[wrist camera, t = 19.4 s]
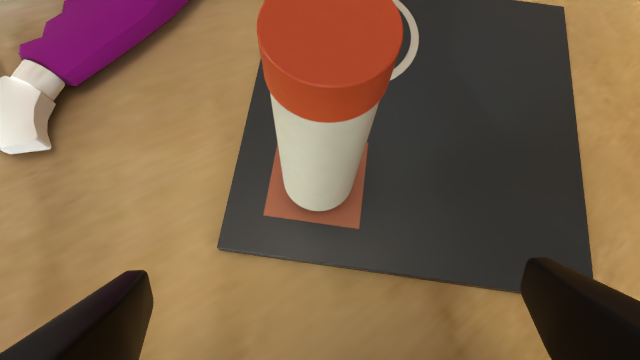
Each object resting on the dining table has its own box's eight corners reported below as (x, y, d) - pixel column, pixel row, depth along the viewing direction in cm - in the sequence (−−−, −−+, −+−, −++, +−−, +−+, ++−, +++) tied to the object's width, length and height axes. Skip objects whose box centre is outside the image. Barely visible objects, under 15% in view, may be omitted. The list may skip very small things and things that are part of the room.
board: (558, 13, 27) (564, 5, 26) (588, 303, 20) (597, 302, 19) (281, -24, 27) (281, -32, 27) (219, 250, 20) (216, 247, 20)
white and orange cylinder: (367, 190, 21) (434, 38, 10) (310, 232, 20) (316, 114, 9) (324, 138, 22) (342, -51, 11) (268, 176, 21) (227, 10, 10)
